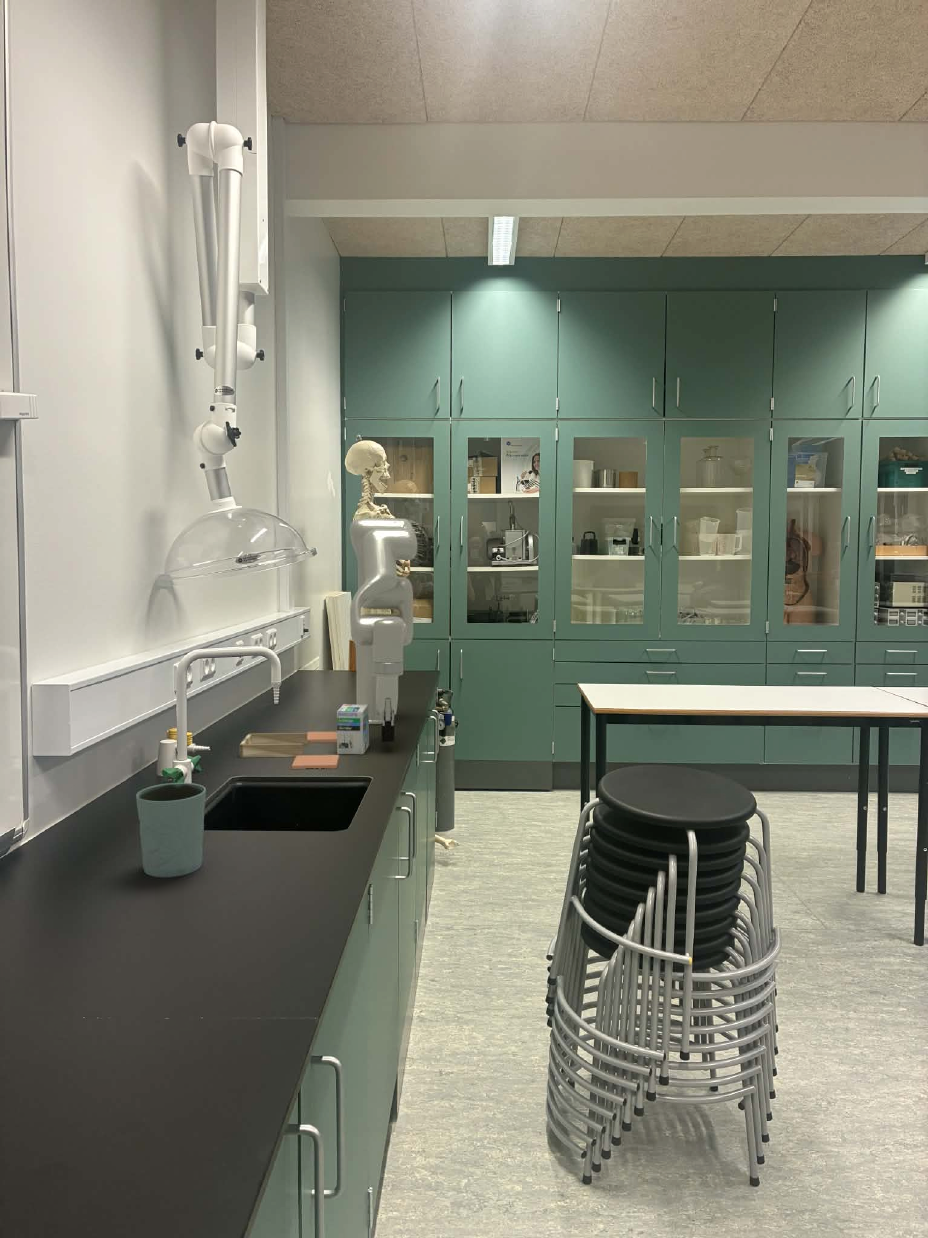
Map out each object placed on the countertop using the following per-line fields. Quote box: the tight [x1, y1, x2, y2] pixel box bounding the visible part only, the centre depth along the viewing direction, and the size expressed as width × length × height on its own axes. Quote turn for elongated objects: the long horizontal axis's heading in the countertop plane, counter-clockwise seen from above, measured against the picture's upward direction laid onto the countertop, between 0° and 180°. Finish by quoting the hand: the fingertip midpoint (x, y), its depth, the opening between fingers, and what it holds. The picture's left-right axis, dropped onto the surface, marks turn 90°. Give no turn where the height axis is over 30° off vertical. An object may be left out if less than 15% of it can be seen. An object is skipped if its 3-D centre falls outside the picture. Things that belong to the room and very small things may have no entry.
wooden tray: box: [238, 732, 309, 759], centre depth 210 cm, size 14×15×3 cm
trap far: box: [306, 731, 337, 744], centre depth 225 cm, size 10×10×1 cm
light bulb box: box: [336, 703, 370, 755], centre depth 212 cm, size 11×7×11 cm, turn 179°
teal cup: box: [135, 782, 207, 878], centre depth 130 cm, size 10×10×12 cm
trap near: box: [291, 754, 340, 770], centre depth 197 cm, size 10×10×1 cm
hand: (388, 741), depth 213 cm, fingers closed
